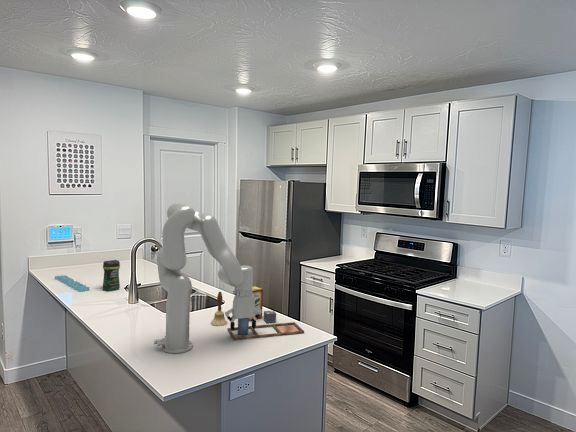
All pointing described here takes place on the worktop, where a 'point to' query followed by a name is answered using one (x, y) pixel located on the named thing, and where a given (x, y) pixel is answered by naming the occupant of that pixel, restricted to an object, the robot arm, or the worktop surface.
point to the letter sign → (72, 283)
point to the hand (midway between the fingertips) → (243, 329)
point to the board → (280, 332)
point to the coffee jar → (111, 275)
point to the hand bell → (219, 314)
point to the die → (269, 317)
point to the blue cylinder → (243, 326)
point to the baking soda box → (257, 299)
